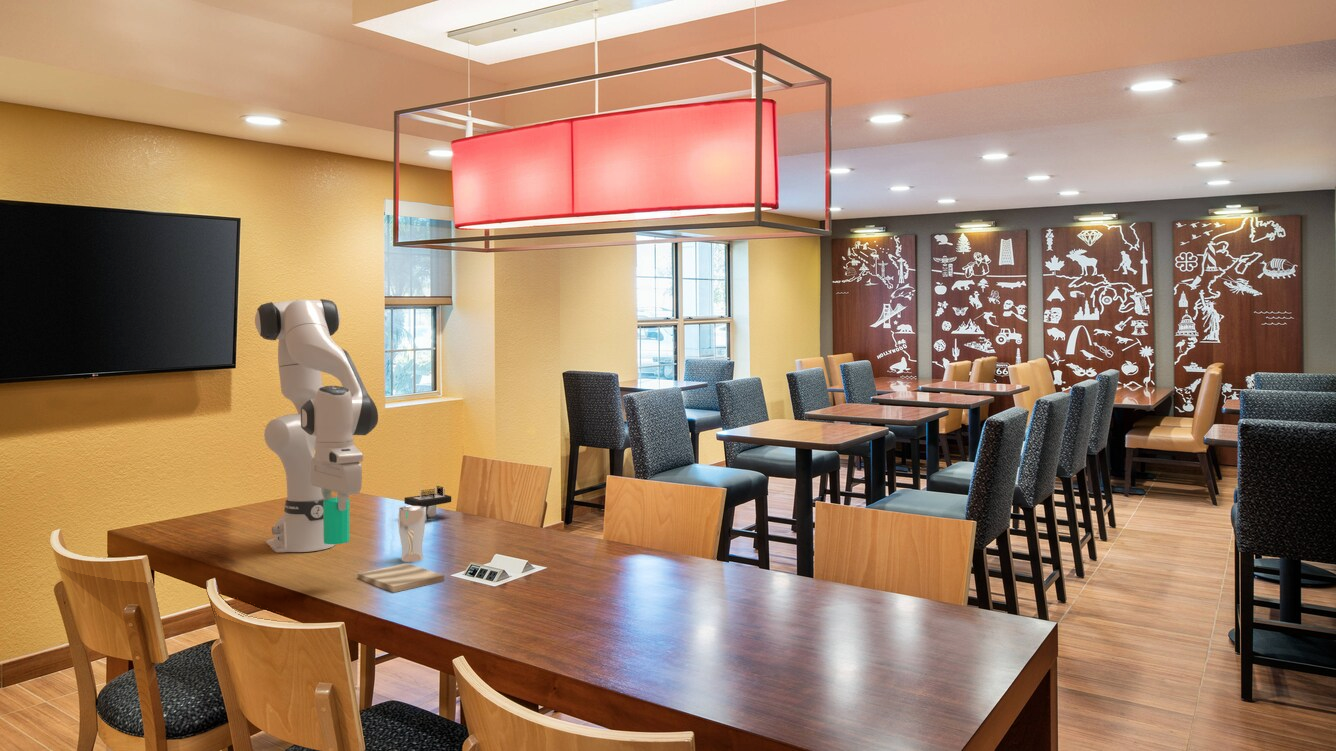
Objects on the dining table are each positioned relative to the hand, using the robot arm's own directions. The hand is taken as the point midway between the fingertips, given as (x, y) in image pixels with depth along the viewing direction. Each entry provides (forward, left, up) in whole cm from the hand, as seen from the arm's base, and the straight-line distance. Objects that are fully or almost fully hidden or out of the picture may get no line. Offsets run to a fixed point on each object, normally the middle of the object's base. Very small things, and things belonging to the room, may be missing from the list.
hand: (335, 508), depth 215 cm
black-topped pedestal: (-46, +54, -20) cm, 74 cm away
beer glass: (-9, +26, -20) cm, 34 cm away
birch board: (+6, +14, -20) cm, 25 cm away
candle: (0, 0, -9) cm, 9 cm away
